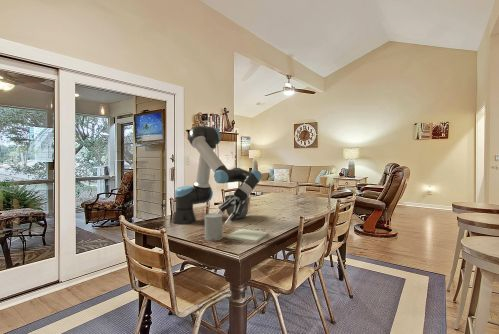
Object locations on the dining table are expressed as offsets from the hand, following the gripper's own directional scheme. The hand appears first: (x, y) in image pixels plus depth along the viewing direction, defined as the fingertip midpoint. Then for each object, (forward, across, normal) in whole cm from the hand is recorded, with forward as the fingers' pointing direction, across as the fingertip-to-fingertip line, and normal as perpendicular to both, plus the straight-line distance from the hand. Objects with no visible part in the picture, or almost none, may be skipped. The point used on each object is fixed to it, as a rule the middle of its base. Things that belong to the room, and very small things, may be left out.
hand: (219, 222), depth 150 cm
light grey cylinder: (+8, +1, -4) cm, 9 cm away
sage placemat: (-4, -6, -16) cm, 17 cm away
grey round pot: (-16, +35, -28) cm, 48 cm away
